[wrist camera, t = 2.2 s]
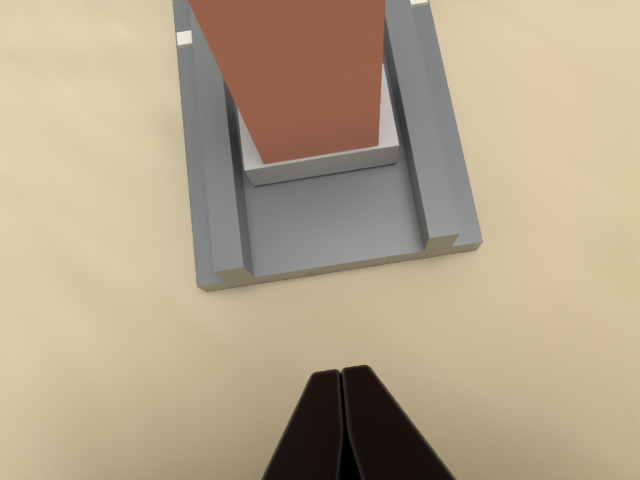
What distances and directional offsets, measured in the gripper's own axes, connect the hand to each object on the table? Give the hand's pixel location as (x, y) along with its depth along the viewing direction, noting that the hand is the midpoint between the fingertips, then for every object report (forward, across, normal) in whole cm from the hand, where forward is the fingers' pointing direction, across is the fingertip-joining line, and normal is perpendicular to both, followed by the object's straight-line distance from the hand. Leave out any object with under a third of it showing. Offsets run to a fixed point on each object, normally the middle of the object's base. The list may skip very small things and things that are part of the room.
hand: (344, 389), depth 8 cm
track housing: (+17, 0, 0) cm, 17 cm away
